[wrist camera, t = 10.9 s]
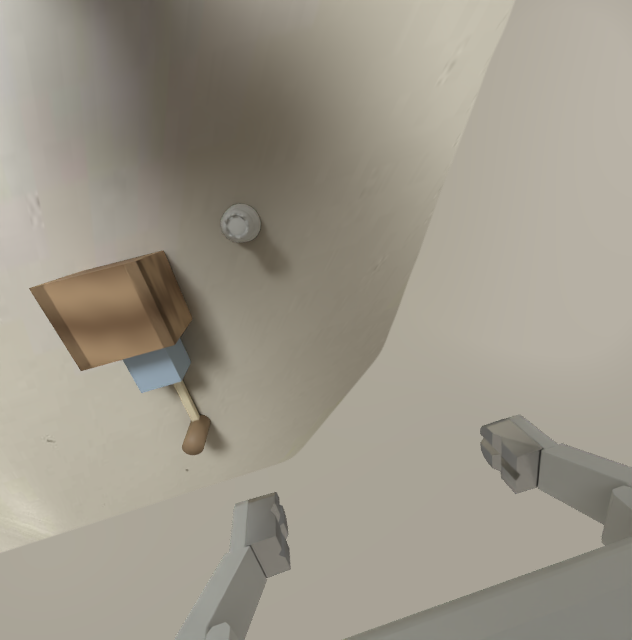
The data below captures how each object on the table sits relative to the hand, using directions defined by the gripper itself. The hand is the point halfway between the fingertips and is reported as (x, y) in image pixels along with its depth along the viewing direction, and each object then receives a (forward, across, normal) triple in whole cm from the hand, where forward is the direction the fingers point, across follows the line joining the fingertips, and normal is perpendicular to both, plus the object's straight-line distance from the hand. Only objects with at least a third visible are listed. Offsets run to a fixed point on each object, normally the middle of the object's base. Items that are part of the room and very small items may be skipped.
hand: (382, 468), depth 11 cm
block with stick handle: (+31, +20, +10) cm, 38 cm away
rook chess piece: (+31, +5, -9) cm, 33 cm away
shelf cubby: (+31, +20, -3) cm, 37 cm away
